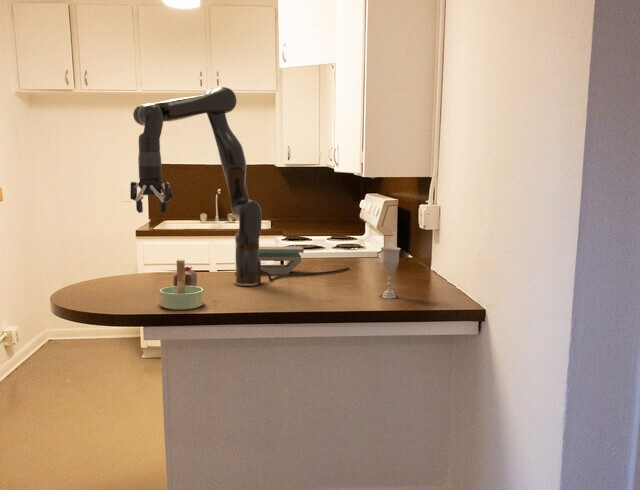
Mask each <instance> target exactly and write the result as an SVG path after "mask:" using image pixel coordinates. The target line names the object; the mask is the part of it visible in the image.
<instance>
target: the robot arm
mask: <svg viewBox="0 0 640 490" xmlns="http://www.w3.org/2000/svg"><path fill="white" fill-rule="evenodd" d="M237 100H238V99H237V95H236V93H235V92H234V91H233V90H232V89H231V88H229V87H226V86H219V87H216V88H215V87H214V88H211V89H207V90H206V91H205V93H204V94H201V95H194V96H185V97H179V98H173V99H166V100H164V101H159V102H151V103H150V102H149V103H142V104H139V105H138V106H136V107H135V109H134V110H133V113H132V116H133V119H134V121H135V123H136V124H138V125H139V126H143V127H144V128H143V132H142V133H140V134H139V135H138V140H137V141H138V157H137V158H138V159H137V160H138V161H137V163H138V178H139V179H138V180H139V181H138V182H137V181H131V182H130V191H129V192H130V200H133V201H135V205H136V206H135V207H136V208H135V209H136V211H137V213H139V214H140V213H143V210H144V209H143V207H144V205H143V200H144V198H145V197H146V196H155V197H157V198H158V199H159V200H160V214H166V212H168V203H167V202H170V201H172V200H173V194H172V183H171V182H163V181H162V180H163V172H162V168H163V167H162V155H161V135H162V130H163V125H164V122H175V121H179V120H184V119H187V118H192V117H195V116H198V115H204V114H206V116H207V118H208V121H209V124H210V126H211V130H212V133H213V136H214V137H213V138H214V140H215V143H216V147H217V151H218V157H219V160H220V165H221V167H222V171H223V175H224V179H225V182H226V186H227V189H228V195H229V202H230V209H231V213H232V216H233V218H234V219H235V220H236V222H238V223H239V226H238V231H237V232H236V233H235V235H234V238H235V239H234V240H235V243H234V245H235V246H234V248H235V249H234V250H235V251H234V253H235V272H234V276H235V285H237V286H238V287H239V286H240V287H254V286H255V287H256V286H262V285H261V284H262V276H264V275H267V277H268V280H269V281H270V282H273V281H275V280H277V279H280V278H284V277H285V278H286V277H297V276H299V277H300V276H313V275H314V276H315V275H326V274H334V273H339V272H343V271H346V270H347V271H348V270H349V269H350V266H347V267H344V268H340V269H334V270H326V271H315V272H301V273H300V272H299V273H289V274H277V275H276V276H274V277H273V278H272V276H271V274H269V273H267V272H265V271H263V269H261V265H262V261H260V260H259V247H260V236H261V233H262V221H263V219H262V217H263V216H262V207H261V205H260V203H258V202H257V201H255V200H252V199H250V197H249V193H248V189H247V185H246V179H247V178H246V177H247V161H246V155H245V151H244V148H243V146H242V144H241V142H240V140H239V139H238V137H237V136H236V134H235V133H234V132H233V131H232V129H231V127H230V125H229V123H228V119H227V116H226V114H228V113H231V112H232V111H234V110H235V108H236V106H237ZM138 188H139V189H140V191H138ZM162 188H163V190H164V192H163V191H162ZM263 273H264V274H263Z"/></svg>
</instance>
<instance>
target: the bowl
mask: <svg viewBox="0 0 640 490" xmlns="http://www.w3.org/2000/svg"><path fill="white" fill-rule="evenodd" d="M204 301H205V300H204V289H203V287H200V286H197V285H196V286H185V294H177V286H174V285H172V286H171V285H170V286H166V287H162V288H160V289H159V305H160V307H162V308H164V309H167V310H174V311H186V310H193V309H197V308H199V307H202V306H203V305H204Z"/></svg>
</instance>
